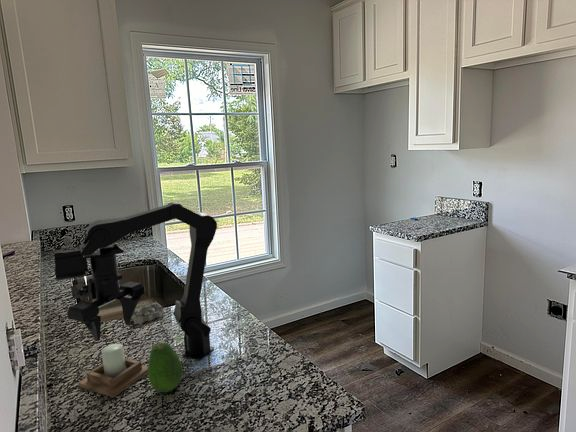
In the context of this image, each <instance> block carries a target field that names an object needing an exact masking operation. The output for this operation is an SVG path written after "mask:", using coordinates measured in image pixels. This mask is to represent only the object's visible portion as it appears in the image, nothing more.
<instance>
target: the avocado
mask: <svg viewBox="0 0 576 432" xmlns="http://www.w3.org/2000/svg"><path fill="white" fill-rule="evenodd" d="M147 366H148V373H147V374H148V380H149V383H150V385H151V386H152V388H153V389H154V390H155V392H159V393H169V392H172V391H173V390H174V389H176V388H177V387H178V386H179V385H180V383H181V381H182V377H183V373H184V372H183V366H182V362H181V359H180V358H179V356H178V354H177V352H176V351H175V350H174V348H173V347H172V345H170V344H169V343H166V342H159V343H157V344H155V345H154V346H153V348H151V351H150V355H149V360H148V365H147Z"/></svg>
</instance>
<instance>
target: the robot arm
mask: <svg viewBox="0 0 576 432" xmlns="http://www.w3.org/2000/svg"><path fill="white" fill-rule="evenodd" d="M172 220H178V221H180V222H182V223H183V224H187V226H189V237H190V243H191V246H190V247H191V248H190V254H189V259H188V264H187V266H188V267H187V273H186V278H185V284H184V291H183V295H182V297H181V299H180V300H175V301H174V302H175V303H174V311H173V313H172V315H173V316H174V319H175V321H176V323H177V324H178V326H179V328H180V329H181V330H182V332H183V333H184V335H183V342H184V343H183V344H184V352H182V356H183V357H188V358H191V359H196V360H199V361H200V360H203V359H204V358H205V357H206V356H207V355H208V354H210V353H211V352H212V351H214V350H215V347H214V346H211V339H210V336H211V335H210V333H211V327H210V326H209V324H208V323H207V322H206V321H205V319H204V318H203V316H202V315H203V314H202V313H203V312H202V306H201V305H202V304H201V294H202V293H201V292H202V286H203V279H204V274H205V268H206V261H207V255H208V250H209V248H210V246H211V244H212V242H213V240H214V237H215V235H216V232H217V229H218V223H217V220H216V219H215V218H214V217H213V216H211V215H209V214H207V213H204V212H195V211H193V210H190V209H188V208H186V207H184V206H183V205H182V204H180V203H178V202H176V201H171V202H169V203H167V204H164V205H162V206H161V205H160V206H158V207H155V208H152V209H148V210H145V211H141V212H138V213H135V214H133V215H129V216H124V217H119V218H109V219H108V218H107V219H100V220H95V221H93V222H91V223H89V225H88V226H87V229H86V232H85V233H86V237H85V238H84V239H83V240H84V241H82V242H81V243H80V244H81V245H80V246H79V248H78V249H77V248H76V249H70V250H58V251H54V253H53V257H54V274H55V278H56V279H55V280H56V282H60V281H66V280H71V279H77V278H83V277H85V275H86V273H88V272H89V266H88V259H89V261H90V269H91V275H92V277H90V278H88V283H87V284H85V285H83V284H82V283H78V284H75V285H72V286H70V290H71V295H72V298H73V299H75V300H76V299H80V301H79V302H77V303H75V304H73V305H70V306H69V307H68V308H67V311H66V315H67V319H69V320H72V321H76V322H77V321H78V322H82V323H83V324H84V326H85V327H86V328H87V329H88V331H89V333H90V334H91V336H92V337H93V339H94V341H96V342H100V341H101V340H100V339H101V326H102V325H101V323H102V320H101V319H102V318H101V315H99V314H100V308H103V307H106V306H107V305H110V304H111V303H114V302H116V301H119V302H120V304H121V308H122V316H123V320H124V321H123V322H124V324H125V325H127V326H128V325H130V323H131V322H132V321H131V318H132V315H133V313H134V310H135V309H137V305H138V304H139V301H140V299H142V298H143V297H142V296H143V295H145V294H146V291H145V286H144V285H143V284H142V283H141V282H134V281H127V282H125V283H122V284H120V280H122V279H123V274H120V273H119V270H118V261H117V255H118V254H123V253H124V252H125V250H124V248H123V247H121V245H118V243H117V242H118V241H119V242H120V240H122V239H124V238H125V237H127V236H128V235H130V234H133V233H136V232H138V231H142V230H144V229H148V228H151V227H154V226H157V225H160V224H164V223H166V222H169V221H172ZM86 298H87V299H89V300H94V301H92V302H88V301H84V300H85V299H86Z"/></svg>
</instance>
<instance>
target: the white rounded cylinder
mask: <svg viewBox="0 0 576 432" xmlns="http://www.w3.org/2000/svg"><path fill="white" fill-rule="evenodd" d="M101 358H102V363H103V366H104V375H105V376H108V377H112V378H114V377H115V376H117V375H118V374H120V373H121V372H123V371H124V370H126V365H125V358H126V357H125V349H124V345H123V344H122V343H113V344H109V345H106V346H105V347H103V348H102V349H101Z"/></svg>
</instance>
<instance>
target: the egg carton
mask: <svg viewBox="0 0 576 432" xmlns="http://www.w3.org/2000/svg"><path fill="white" fill-rule="evenodd" d="M164 310H165V308H164V307H163V306H162V305H161V304H160V303H158V302H157V301H155V302H153V303H150V304H147V305H144V306H141V307H138V308H137V307H136V308H135V310H134V313H133V315H132V318H131V321H130V322H133V324H134V325H142V324H144V322H147V321H150V322H151V321H153V320H154V319H156V318H162V317H163V316H164V315H165V313H164Z"/></svg>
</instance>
